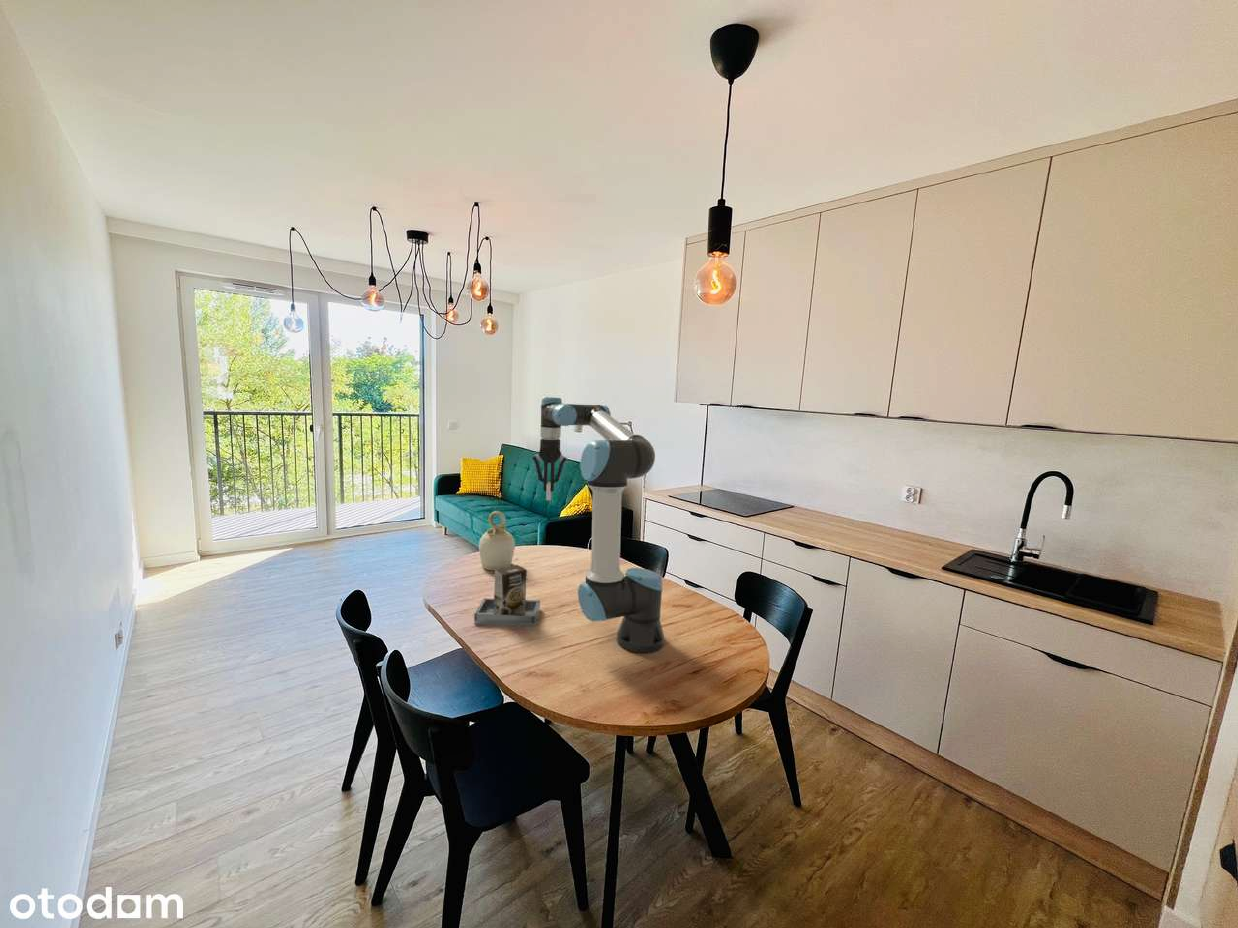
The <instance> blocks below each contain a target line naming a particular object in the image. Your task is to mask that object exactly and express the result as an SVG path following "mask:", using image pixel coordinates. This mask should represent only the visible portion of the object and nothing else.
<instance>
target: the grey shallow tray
mask: <svg viewBox="0 0 1238 928" xmlns="http://www.w3.org/2000/svg"><path fill="white" fill-rule="evenodd" d="M540 610H541V601H540V600H534V599H533V600H529V599H526V605H525V614H498V613H494V598H486V597H485V598H484V597H483V599H482V601H481V602H480V604H479V605H478V607H477V609H476V611H475V612H474V614H473V622H474V623H473V624H474V625H490V626H491V625H495V626H497V625H498V626H515V627H516V626H519V627H520V626H522V627H535V625H536V622H537V619H538V616H539V615H540Z"/></svg>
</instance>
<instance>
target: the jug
mask: <svg viewBox="0 0 1238 928" xmlns="http://www.w3.org/2000/svg"><path fill="white" fill-rule="evenodd" d="M495 515H496V516H498V517H500V520H501V523H500V524H496V523H495V522H494V516H495ZM506 521H507V520H506V516H505V515H504V513H503V512H501V511H499V510H494V511H492V512H491V513H490V515H489V517H488V523H489V524H490V525H489V526H491V528H488V529H487V530H486V531H485V533H483V534H482V535H481V537H480V540H479V542H478V552H479V557H480V562H481V567H482V568H483V569H484V570H488V571H494V572H495V570H497V569H501V568H506V567H510V566H511V564H512V563H513V557H514V554H515V549H516V543H515V539H514V536H513V535H512V534H511V533H510V532H509V531H507V530H506V529H507V526H506Z"/></svg>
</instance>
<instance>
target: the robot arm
mask: <svg viewBox="0 0 1238 928" xmlns="http://www.w3.org/2000/svg"><path fill="white" fill-rule="evenodd" d="M562 401H563V400H562V398H560V397H554V396H553V397H552V396H543V397H542V399H541V405H540V431H539V432H540V435H539V436H540V441H539V451H538V453H537V454H536V455H533V456H532V460H533V461H534V463H535V468H536V472H537V477H538V481H539V482H542V483H543V492H546V495H545V501H551V500H552V492H554V490H555V483H558V482H559V481H560V478H561V474H562V470H563V468H564V464H565V462H566V461H567V458H568V457H566V456H564V455H562V452H561V434H562V433H561V430H562V427H563V426H564V427H569V426H588V427H590V428H592V429H593V430H594V431H595V432H597V433H598V434H599V435H600V436H601V437H602V438H603V439H601V440H592V441H590V442H588V444H587V445H585V447H584V448H583V451H582V454H581V458H580V473H581V477H582V478H583V479H584V480H585V481H586V482H587V487H589V488H590V490H591V491H592V504H591V505H592V508H591V509H592V510H591V518H592V519H591V550H590V551H591V554H590V555H591V558H590V559H591V560H590V569H589V570H588V572H586V573H585V582H584V581H583V582H582V583H580V584H579V586H578V588H577V596H578V597H577V598H578V602H579V606H580V609H581V611H582V613H583V615H584V616H585V617H586V619H587V620H588V621H591V622H600V621H601V622H605V621H606V620H612V619H616V618H617V619H618V618H620V617H622V619H621V622H620V625H619V627H618V629H617V632H616V643H617V644H618V646H620V647H621V648H623V649H624V650H625V651H626V650H627V651H630V652H632V653H638V654H648V653H654V652H658V651H659V650H660V649H662V648H663V647H664V645H665V633H664V630H663V627H662V622H661V605H662V593H663V579H662V576H661V575H660V574H658V573H657V572H654V571H653V570H650V569H646V568H641V567H631V568H628V569H627V570H626V572H625V573H624V572H623V571H621V570H620V568H621V566H620V565H621V562H620V561H621V533H622V532H621V527H622V497H623V496H622V495H623V494H622V492H623V491H624V490H625V489H626V488H627V486H628V479H637V478H641V477H644V476H645V475H646V474H648V473H649V472H650V470H652V468H653V467H654V463H655V460H656V452H655V449H654V447H653V444H652V443H651V442H649V440H648V439H646V438H645V437H644V436H642V435H640V434H635V433H634V432H633V431H631V430H630V429H628V428H627V427H626V426H625V425H623V424H622V423H621V422H619V420H616V419H615V418H614V417H613V416H611V415H612V413H611V410H610V408H609V407H608V406H607V405H602V404H572V403H562ZM540 459H541V460H542V462H543V471H542V468H541V463H540ZM558 460H559V461H560V464H559V466H558V469H557V473H555V472H556V470H555V469H556V462H557V461H558ZM549 463H550V481H549V480H548V479H549V478H548V477H549ZM555 474H556V477H555Z"/></svg>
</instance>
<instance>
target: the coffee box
mask: <svg viewBox="0 0 1238 928" xmlns="http://www.w3.org/2000/svg"><path fill="white" fill-rule="evenodd" d="M527 573H528V572H527V569H526V568H524V567H522V566H520V565H519V564H517V565H512V566H511V565H510V567H506V568H501V569H497V570H495V571H494V592H493V593H494V597H493V599H494V613H498V614H525V605H526V600H527V599H526V598H527Z"/></svg>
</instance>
